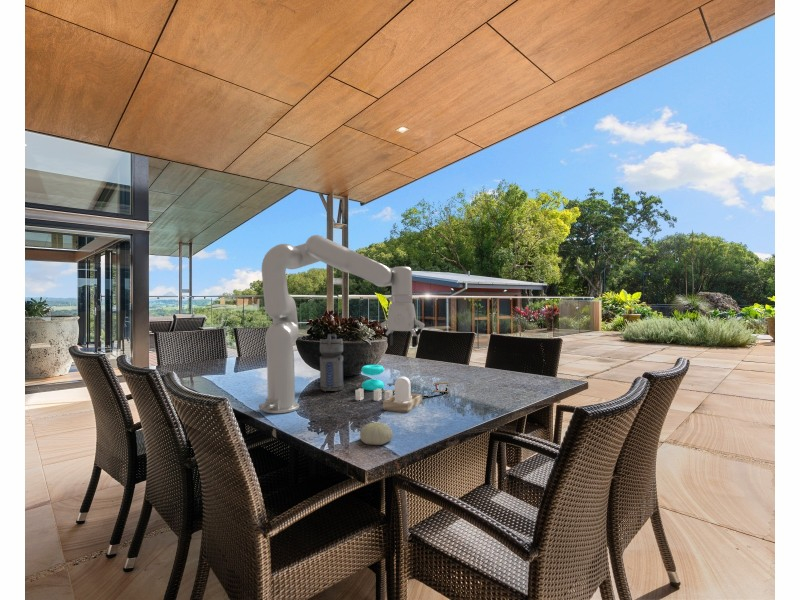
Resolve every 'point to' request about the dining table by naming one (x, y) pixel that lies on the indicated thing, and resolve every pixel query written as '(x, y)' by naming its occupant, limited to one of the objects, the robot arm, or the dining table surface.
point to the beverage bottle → (331, 363)
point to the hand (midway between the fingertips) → (402, 346)
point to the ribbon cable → (422, 397)
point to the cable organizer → (403, 390)
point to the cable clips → (377, 394)
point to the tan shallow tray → (402, 404)
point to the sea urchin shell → (376, 434)
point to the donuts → (372, 383)
